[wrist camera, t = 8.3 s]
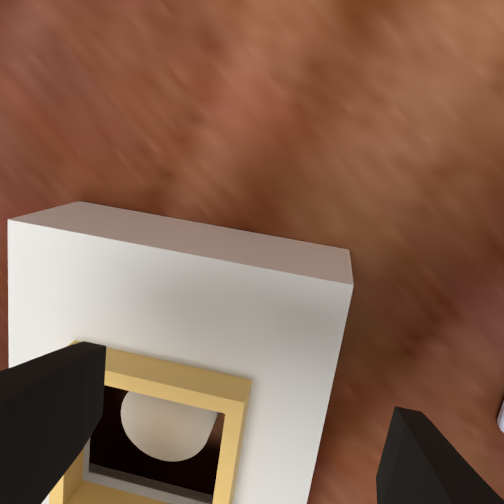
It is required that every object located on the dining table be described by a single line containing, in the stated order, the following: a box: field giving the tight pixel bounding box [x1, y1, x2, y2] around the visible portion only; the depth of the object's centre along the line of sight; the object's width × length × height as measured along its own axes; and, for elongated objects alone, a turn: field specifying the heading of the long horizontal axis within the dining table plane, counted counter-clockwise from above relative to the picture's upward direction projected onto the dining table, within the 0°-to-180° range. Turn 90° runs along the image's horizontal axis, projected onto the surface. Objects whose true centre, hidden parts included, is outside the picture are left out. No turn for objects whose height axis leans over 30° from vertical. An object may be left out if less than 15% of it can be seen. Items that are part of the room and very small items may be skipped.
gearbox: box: [8, 201, 354, 504], centre depth 20 cm, size 16×16×6 cm
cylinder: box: [121, 391, 219, 461], centre depth 21 cm, size 4×4×4 cm
